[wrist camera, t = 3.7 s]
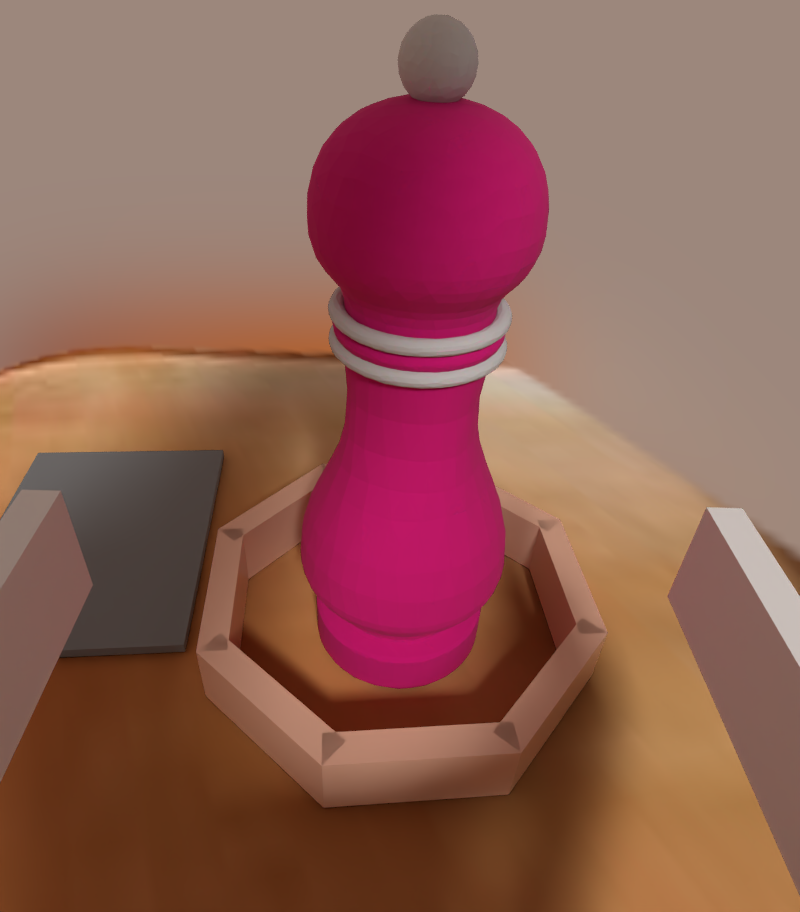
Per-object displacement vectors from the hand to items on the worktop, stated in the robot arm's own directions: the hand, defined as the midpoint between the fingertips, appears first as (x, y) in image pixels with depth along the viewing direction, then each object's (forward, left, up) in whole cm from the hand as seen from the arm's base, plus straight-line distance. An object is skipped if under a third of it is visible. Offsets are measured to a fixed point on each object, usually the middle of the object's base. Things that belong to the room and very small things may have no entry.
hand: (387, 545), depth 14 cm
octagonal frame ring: (-1, -7, -11) cm, 13 cm away
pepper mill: (-1, -7, -11) cm, 13 cm away
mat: (+11, -12, -11) cm, 20 cm away
